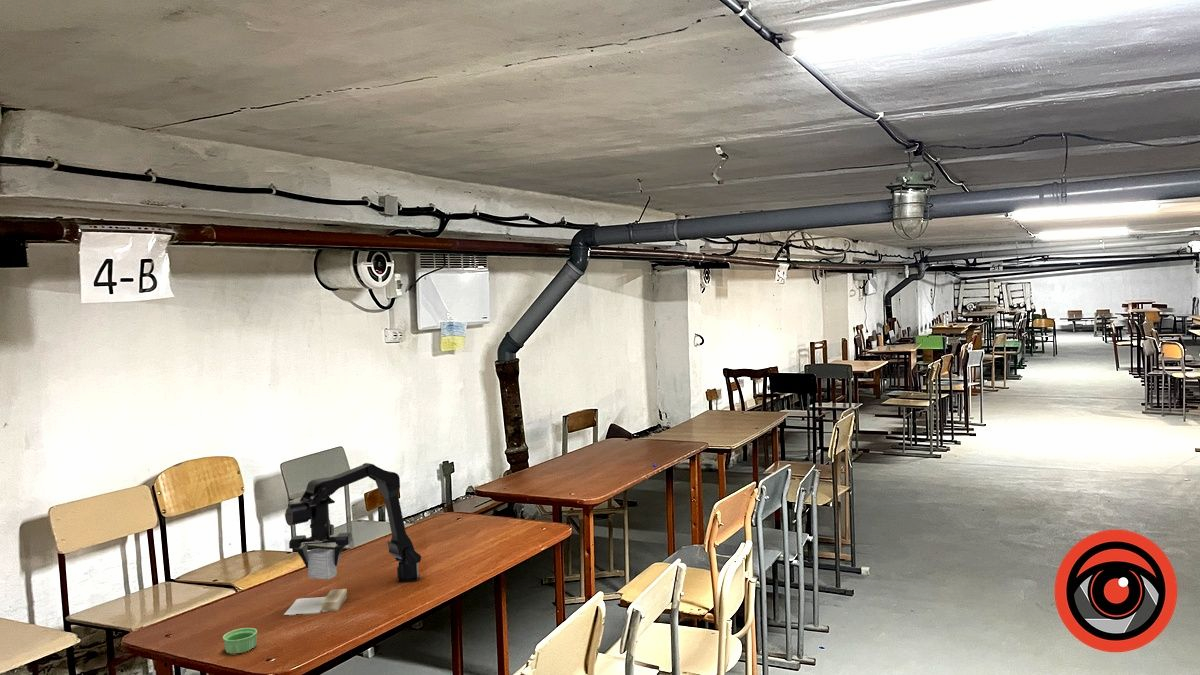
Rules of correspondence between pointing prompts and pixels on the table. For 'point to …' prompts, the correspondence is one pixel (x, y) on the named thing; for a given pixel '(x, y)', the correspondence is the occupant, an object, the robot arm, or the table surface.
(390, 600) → the table surface
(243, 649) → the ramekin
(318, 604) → the mat
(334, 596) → the step block
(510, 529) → the table surface
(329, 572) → the medicine box
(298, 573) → the table surface
